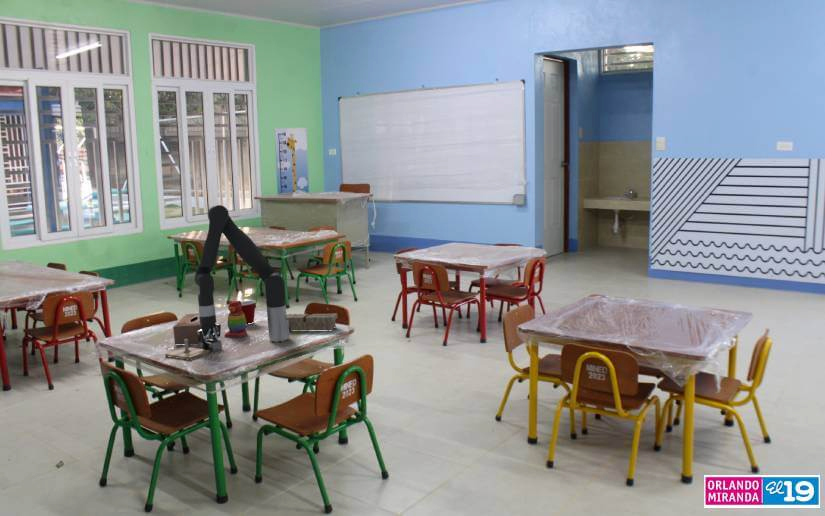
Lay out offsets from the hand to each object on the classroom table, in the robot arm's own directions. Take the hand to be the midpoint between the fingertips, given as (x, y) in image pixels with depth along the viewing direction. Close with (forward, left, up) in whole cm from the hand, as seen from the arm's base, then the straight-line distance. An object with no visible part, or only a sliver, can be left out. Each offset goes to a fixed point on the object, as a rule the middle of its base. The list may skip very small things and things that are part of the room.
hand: (210, 348), depth 346 cm
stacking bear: (+6, -25, -1) cm, 26 cm away
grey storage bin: (0, 0, 0) cm, 0 cm away
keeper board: (+4, +11, 0) cm, 12 cm away
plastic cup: (+17, -45, -1) cm, 48 cm away
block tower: (-23, -46, -1) cm, 52 cm away
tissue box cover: (+23, -13, -1) cm, 26 cm away
